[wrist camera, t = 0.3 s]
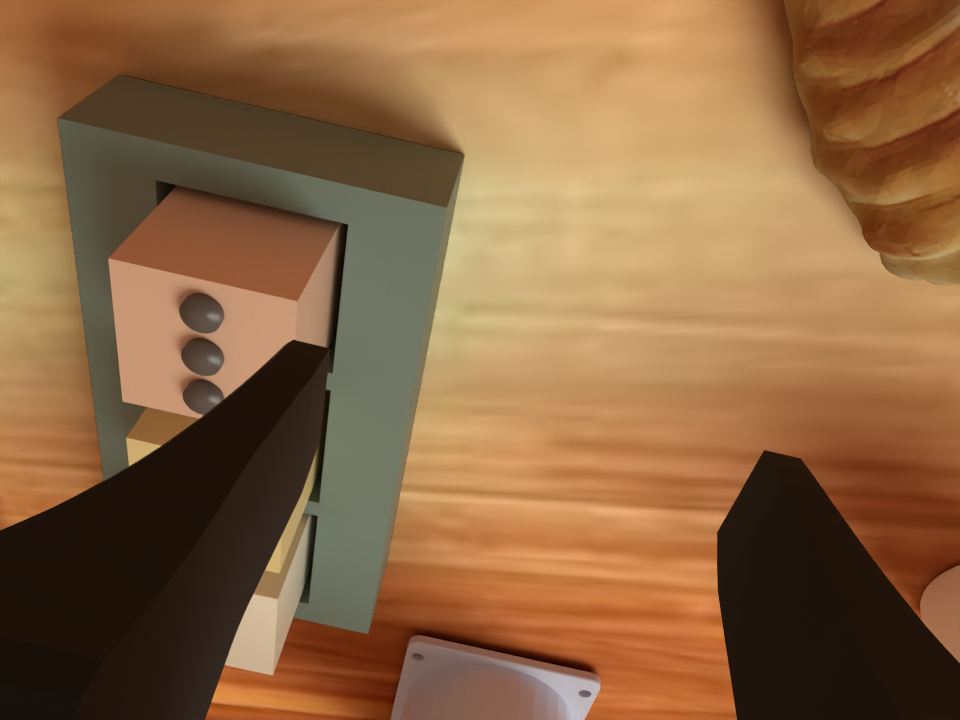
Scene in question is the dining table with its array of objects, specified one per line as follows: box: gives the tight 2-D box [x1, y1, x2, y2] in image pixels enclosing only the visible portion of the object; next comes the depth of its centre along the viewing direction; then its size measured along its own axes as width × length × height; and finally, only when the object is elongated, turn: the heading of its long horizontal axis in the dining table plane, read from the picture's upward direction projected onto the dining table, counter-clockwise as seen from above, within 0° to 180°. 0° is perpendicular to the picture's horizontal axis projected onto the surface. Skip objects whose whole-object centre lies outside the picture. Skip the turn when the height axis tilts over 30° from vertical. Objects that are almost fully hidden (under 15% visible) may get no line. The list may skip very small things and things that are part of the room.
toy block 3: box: [225, 513, 318, 676], centre depth 27 cm, size 4×4×5 cm
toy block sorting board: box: [57, 75, 464, 634], centre depth 25 cm, size 17×9×3 cm, turn 169°
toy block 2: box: [126, 389, 331, 573], centre depth 23 cm, size 4×4×5 cm
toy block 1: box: [108, 185, 348, 418], centre depth 20 cm, size 4×4×5 cm
